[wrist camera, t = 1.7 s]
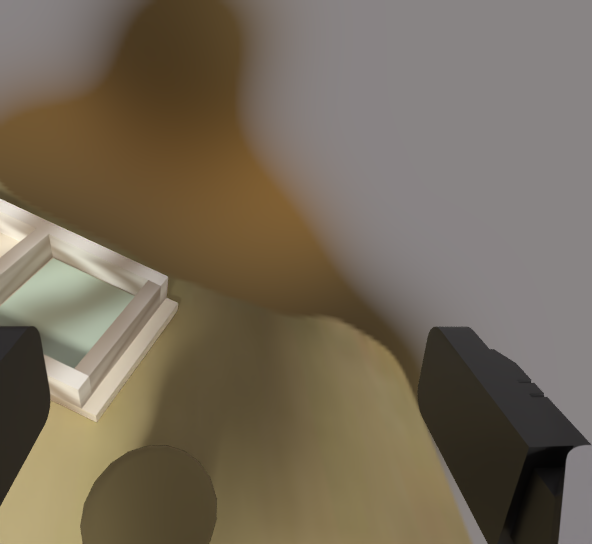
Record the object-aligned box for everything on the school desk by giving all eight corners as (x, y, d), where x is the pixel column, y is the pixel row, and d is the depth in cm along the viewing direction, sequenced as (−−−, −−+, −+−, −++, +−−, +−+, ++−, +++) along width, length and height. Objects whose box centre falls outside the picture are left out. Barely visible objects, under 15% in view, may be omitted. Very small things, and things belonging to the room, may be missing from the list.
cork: (107, 493, 27) (96, 412, 19) (211, 507, 28) (241, 434, 20) (68, 623, 23) (34, 587, 15) (191, 633, 24) (220, 605, 16)
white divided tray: (177, 310, 37) (180, 282, 34) (96, 422, 30) (93, 397, 27) (-59, 200, 38) (-73, 165, 35) (-189, 283, 31) (-218, 247, 28)
